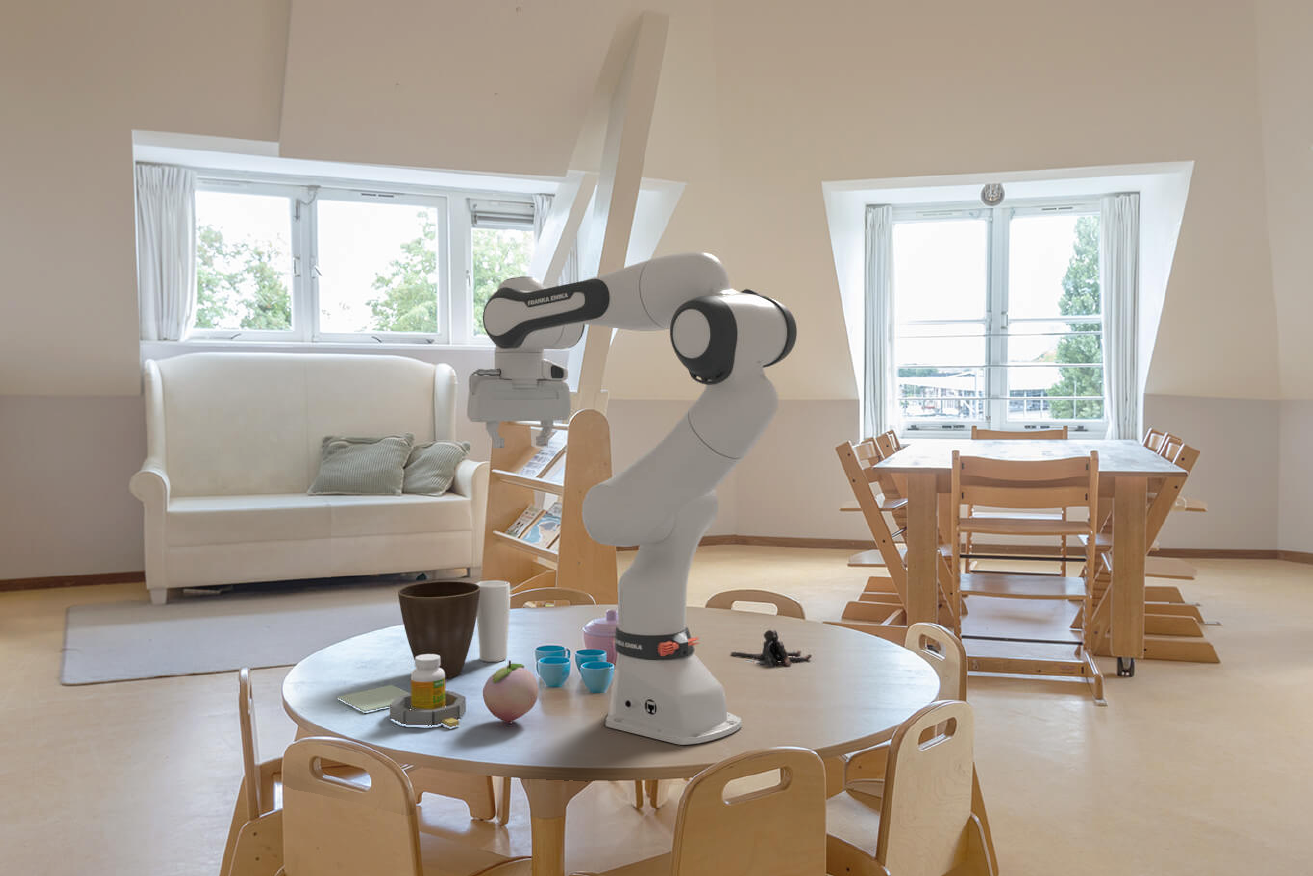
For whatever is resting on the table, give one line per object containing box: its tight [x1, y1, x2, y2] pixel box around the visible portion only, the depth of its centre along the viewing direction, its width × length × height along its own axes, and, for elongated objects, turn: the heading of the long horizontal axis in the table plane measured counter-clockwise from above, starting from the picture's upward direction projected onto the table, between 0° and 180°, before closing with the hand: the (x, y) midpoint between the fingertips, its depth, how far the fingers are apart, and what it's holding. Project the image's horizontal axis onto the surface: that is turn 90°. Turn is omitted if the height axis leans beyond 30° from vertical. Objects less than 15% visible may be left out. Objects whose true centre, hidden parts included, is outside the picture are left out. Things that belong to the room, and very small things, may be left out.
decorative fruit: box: [482, 660, 539, 724], centre depth 156 cm, size 9×8×10 cm
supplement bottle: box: [410, 654, 446, 710], centre depth 159 cm, size 5×5×10 cm
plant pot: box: [397, 580, 480, 679], centre depth 183 cm, size 15×15×16 cm
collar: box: [389, 690, 467, 727], centre depth 159 cm, size 16×11×2 cm
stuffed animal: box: [730, 628, 812, 668], centre depth 194 cm, size 12×10×12 cm
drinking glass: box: [475, 579, 511, 663], centre depth 194 cm, size 7×7×15 cm
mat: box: [337, 684, 411, 712], centre depth 168 cm, size 10×10×1 cm
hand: (520, 447), depth 177 cm, fingers open, 8 cm apart
